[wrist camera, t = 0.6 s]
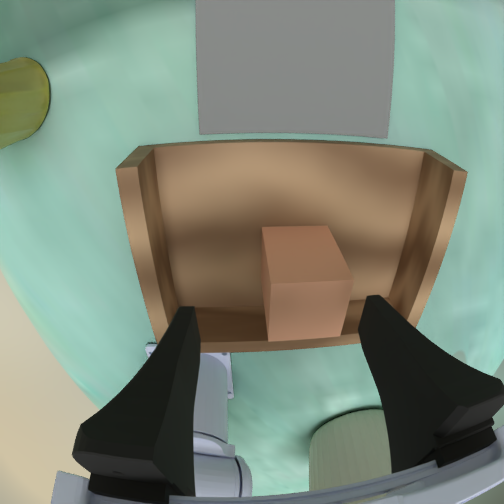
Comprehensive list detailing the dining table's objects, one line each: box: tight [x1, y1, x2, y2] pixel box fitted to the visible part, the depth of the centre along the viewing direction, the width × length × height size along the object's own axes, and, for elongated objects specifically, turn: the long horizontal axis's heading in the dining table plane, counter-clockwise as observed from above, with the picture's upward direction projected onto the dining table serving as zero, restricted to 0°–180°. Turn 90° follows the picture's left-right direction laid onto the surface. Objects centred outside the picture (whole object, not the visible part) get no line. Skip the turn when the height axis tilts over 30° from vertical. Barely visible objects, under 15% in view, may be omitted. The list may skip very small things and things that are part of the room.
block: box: [261, 226, 354, 342], centre depth 20 cm, size 4×4×6 cm
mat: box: [196, 0, 395, 138], centre depth 16 cm, size 10×12×1 cm
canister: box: [309, 409, 392, 504], centre depth 33 cm, size 18×18×21 cm
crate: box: [116, 139, 468, 353], centre depth 21 cm, size 14×20×4 cm
